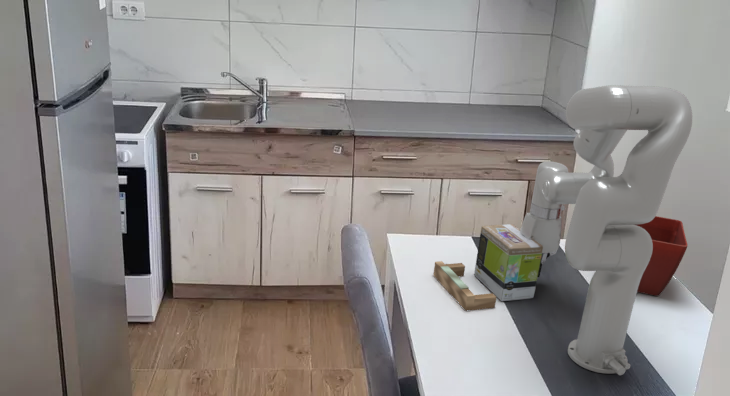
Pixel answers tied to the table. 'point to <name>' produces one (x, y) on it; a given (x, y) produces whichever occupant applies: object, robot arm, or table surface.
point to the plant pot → (662, 254)
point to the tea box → (508, 262)
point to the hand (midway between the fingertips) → (533, 275)
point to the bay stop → (461, 287)
